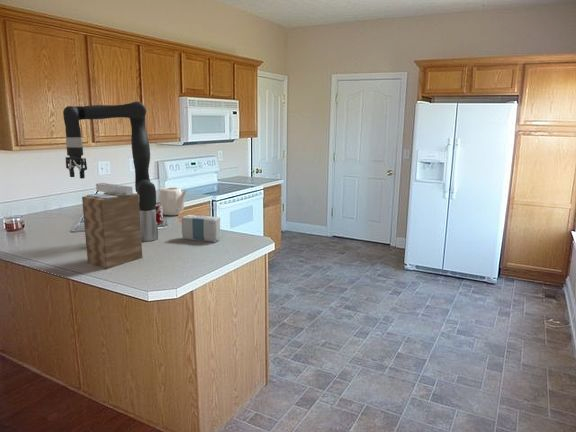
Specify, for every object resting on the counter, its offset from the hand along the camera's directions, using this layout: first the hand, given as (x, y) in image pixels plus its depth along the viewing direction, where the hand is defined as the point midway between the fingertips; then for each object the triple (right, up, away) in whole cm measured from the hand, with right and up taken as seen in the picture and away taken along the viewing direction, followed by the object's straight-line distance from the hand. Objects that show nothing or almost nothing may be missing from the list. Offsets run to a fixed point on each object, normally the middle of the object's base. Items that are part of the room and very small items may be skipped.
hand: (77, 177), depth 230 cm
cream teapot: (+28, -19, +86) cm, 92 cm away
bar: (+27, -9, -20) cm, 34 cm away
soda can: (+25, -25, +58) cm, 68 cm away
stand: (+27, -41, -18) cm, 53 cm away
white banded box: (+61, -34, +20) cm, 72 cm away
